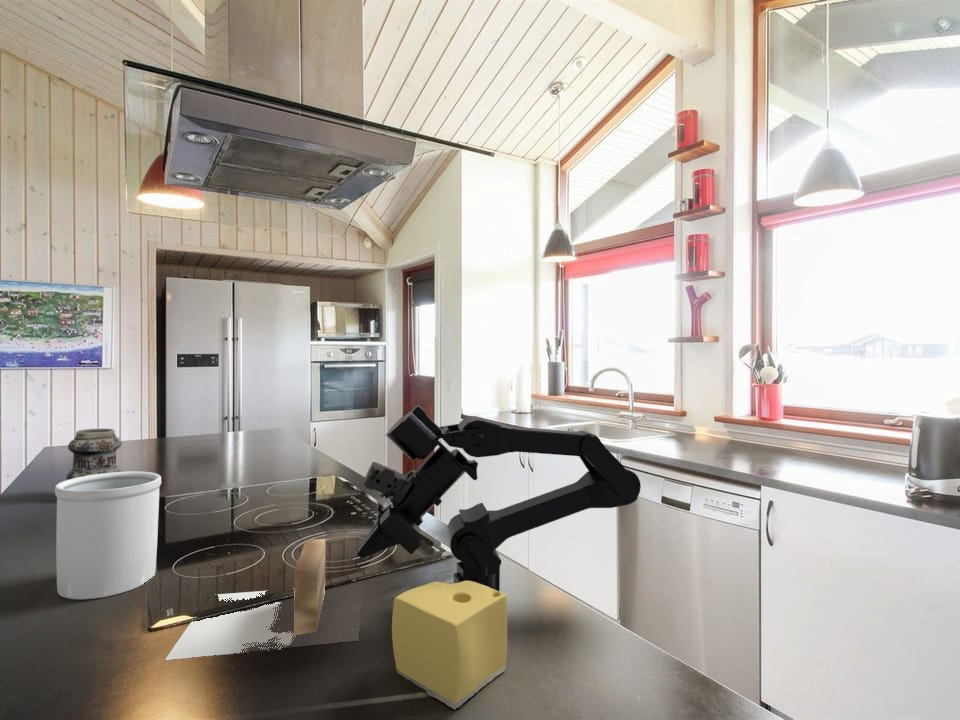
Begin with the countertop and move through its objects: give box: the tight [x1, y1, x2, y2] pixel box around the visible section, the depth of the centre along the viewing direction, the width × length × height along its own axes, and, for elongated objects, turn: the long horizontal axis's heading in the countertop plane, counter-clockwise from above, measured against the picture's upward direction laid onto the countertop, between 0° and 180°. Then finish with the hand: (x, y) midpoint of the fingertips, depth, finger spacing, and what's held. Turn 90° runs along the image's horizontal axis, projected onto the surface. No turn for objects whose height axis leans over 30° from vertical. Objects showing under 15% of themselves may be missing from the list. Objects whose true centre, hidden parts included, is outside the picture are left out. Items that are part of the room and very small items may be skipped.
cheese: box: [391, 581, 508, 703], centre depth 63 cm, size 10×11×10 cm
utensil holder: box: [54, 470, 162, 600], centre depth 88 cm, size 15×15×18 cm
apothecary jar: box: [66, 428, 123, 480], centre depth 141 cm, size 12×12×18 cm
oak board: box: [293, 538, 327, 636], centre depth 77 cm, size 3×12×9 cm, turn 11°
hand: (359, 555), depth 78 cm, fingers closed
